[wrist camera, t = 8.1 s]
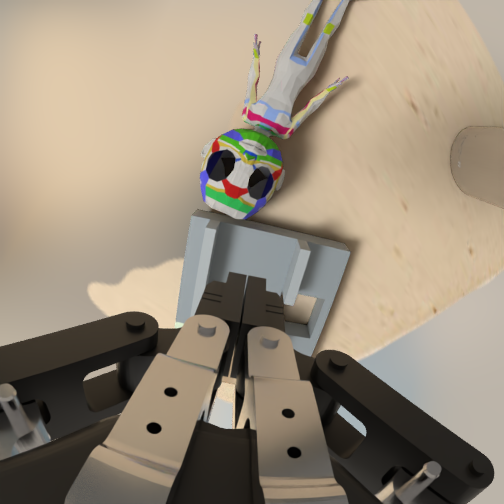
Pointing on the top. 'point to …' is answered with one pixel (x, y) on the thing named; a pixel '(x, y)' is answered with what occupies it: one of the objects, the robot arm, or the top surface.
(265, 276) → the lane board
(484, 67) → the top surface
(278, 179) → the toy
